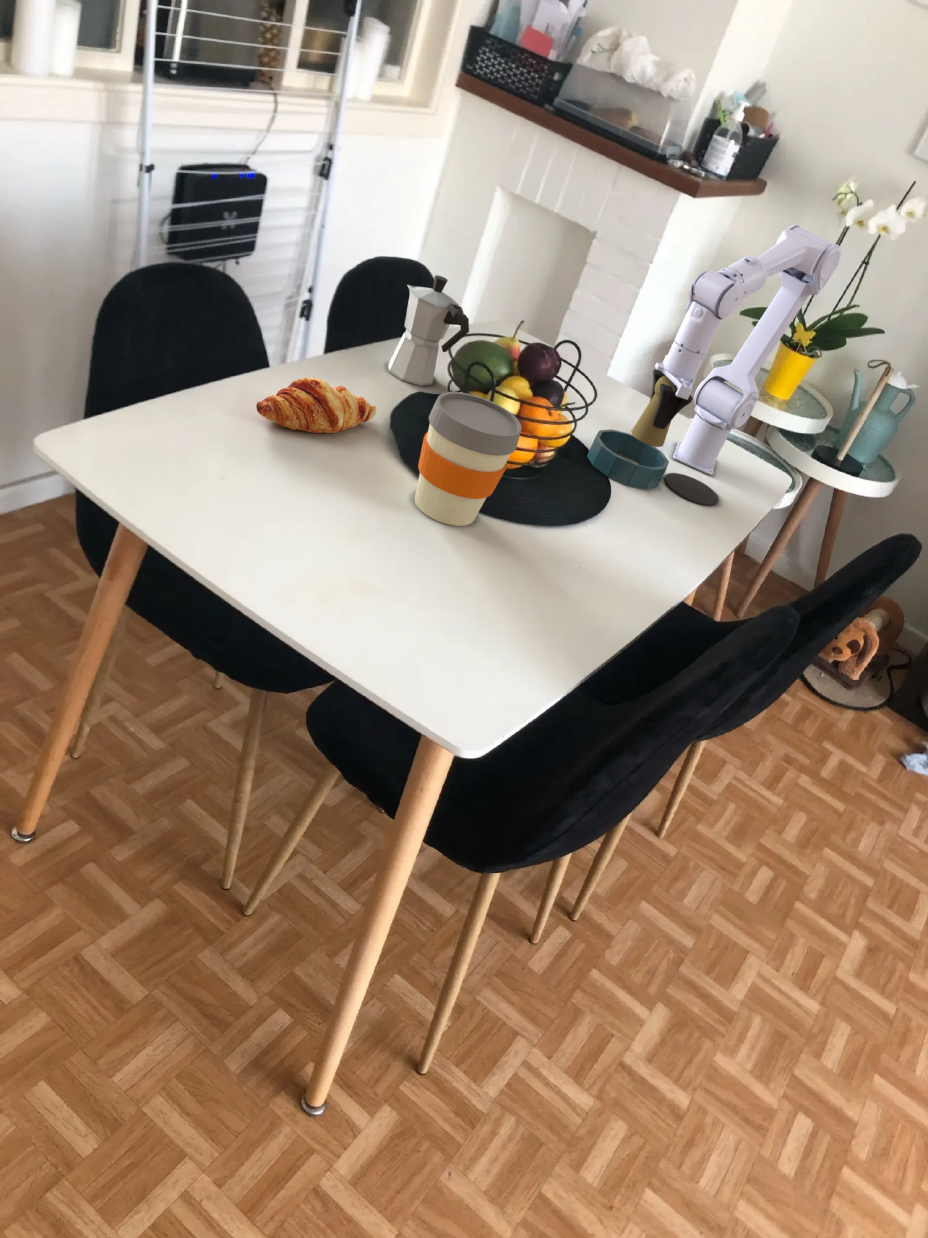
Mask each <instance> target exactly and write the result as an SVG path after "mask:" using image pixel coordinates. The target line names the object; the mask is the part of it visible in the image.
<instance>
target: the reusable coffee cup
mask: <svg viewBox="0 0 928 1238" xmlns="http://www.w3.org/2000/svg"><path fill="white" fill-rule="evenodd" d="M428 422H429V425H428V430H427V431H426V433H425V434H424V436H423V441H422V446H421V450H420V456H419V460H418V467H417V468H418V471H419V474H418V480H417V486H416V491H415V496H414V503H415V505H416V507H417V508H418V509H419V511H421V513H423V514H424V515H425V516H427V517H429V518H431V519H432V520H434V521H437V522H439V523H442V524H446V525H449V526H456V527H464V526H468V525H471V524H472V523H473V522H474V521H475V519H476V517H477V515H478V514H479V512H480V510H481V508H482V507H483V505H484V503H485V501H486V499H487V498H489V497H490V496H491V495H492V494H493V493H494V492H495V489H496V488H497V486H498V484H499V482H500V480H501V478H502V477H503V475H504V473H505V472H506V470H507V468H508V461H509V458H510V457H511V455H512V454H513V453H514V452H516V450H517V447H518V443H519V440H520V436H521V432H522V429H523V428H522V424H521V423H522V422H521V421H520V420H519V419H518V418H517V417H516V416H515V415H514V414H513V413H512V412H510V411H509V410H508V409H506V408H505V407H503V406H502V405H499V404H497V403H496V402H494V401H492V400H489V399H486V398H484V397H481V396H478V395H474V394H470V393H466V392H459V391H449V392H443V393H441V394H439V395H438V396H437V398H436V400H435V402H434V404H433V407H432V409H431V411H430V413H429V415H428Z"/></svg>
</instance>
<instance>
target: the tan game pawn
mask: <svg viewBox="0 0 928 1238" xmlns="http://www.w3.org/2000/svg"><path fill="white" fill-rule="evenodd" d="M661 383H662V384H665V385H668V386H671V387H672V386H673V384H674V383H673V382H672V381H671V380H670V379H669V378H668V377H667V376H664V377H661V378H660V379H659V380H658V381H657V382H656V385H655V389H654V390H655V394H654V396H653V398H652V399H651V401H650V400H649V402H648V404H647V406H646V407H645V408H644V410H643V412H642V414H641V415H640V416H639V418H638V420H637V422H636V423H635V424H634V426H633V428H632V429H631V431H630V432H631V433H630V434H631V435H633V436H634V437H635V438H636V439H638V440H639V441H641V442H643V443H645V444H648V445H651V446H654V447H656V448H661V447H664V445H665V441H666V439H667V435H668V432H669V430H670V426H671V423H672V421H671V422H670V423H669V424H668V425H667V427H666V428H665V429H661V428H658V427H655V426H653V419H654V416H655V413H656V410H657V407H658V403H659V398H660V384H661Z"/></svg>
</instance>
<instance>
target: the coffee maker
mask: <svg viewBox="0 0 928 1238" xmlns="http://www.w3.org/2000/svg"><path fill="white" fill-rule="evenodd" d="M447 283H448V279H447V278H446V277H444V276H442V275H438V274H436V275H435V276H434V279H433V285H432V288H431V287H424V286H414V285H411V284H407V285H406V286H407V287H408V291H409V297H408V303H407V308H406V315H405V320H404V325H403V327H404V328H405V331H404V332H403V334H402V336H401V338H400V340H399V342H398V344H397V346H396V348H395V349H394V352H393V354H392V356H391V358H390V360H389V362H388V365H387V366H388V373H390V374H391V375H393V376H394V377H396V378H398V380H401V381H402V382H406V383H409V384H413V385H416V386H420V387H422V386H430V385H433V383H434V377H435V372H436V365H437V360H438V355H439V348H440V347H441V351H442V353H447V352H448V351H449V350H450V349H451V348H452V347H453V346H455V345H457V343H458V342H460V340H461V339H463V338H464V337H465V336H466V335H467V334H469V333H470V320H469V319H470V318H468V316H467V315H466V314H465V313H464V309H463V307H462V306H460V304H459V303H458V302H457V301H456V300H455V299H453V297H451V296H450V295H449V294H446V293H445V292H443V291H444V289H445V287H446V285H447ZM450 325H452V326H460V330H458V331H457V332H456V333H455V334H454V335H452V337H450V338H449V339H448V340H447V341H445V342H444V343H443V344H442V345H441V346H439V343H440V340H442V339H444V338H445V336H446V334H447V331H448V329H449V327H450Z"/></svg>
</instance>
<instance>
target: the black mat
mask: <svg viewBox="0 0 928 1238" xmlns="http://www.w3.org/2000/svg"><path fill="white" fill-rule="evenodd" d="M663 481H664V484H665V485H666V486H667V488H668V489H669V490H671V491H672V492H673V493H674V494H676V495H677V496H679V497H681V499H684V500H686V501H688V502H691V503H694V504H697V505H699V506H704V507H714V506H716V505H717V504H719V501H720V499H719V496H718V494H717V493H716V492H715V490H713V489H712V488H711V487H710V486H709V485H707V484H705V483H704V482H702V481H700V480H699V479H696V478H694V477H692V476H689V475H686V474H682V473H677V472H669V473H667V474H665V476H664V477H663Z"/></svg>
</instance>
